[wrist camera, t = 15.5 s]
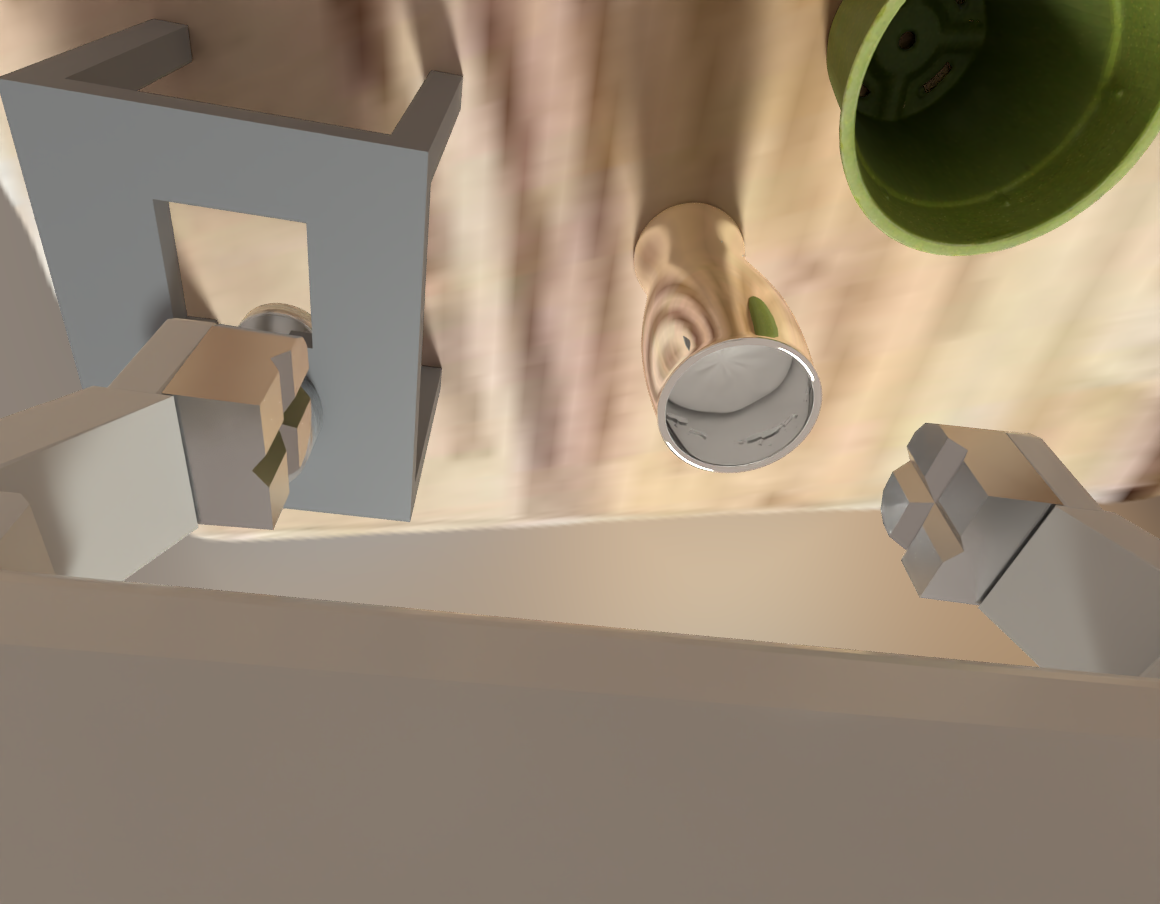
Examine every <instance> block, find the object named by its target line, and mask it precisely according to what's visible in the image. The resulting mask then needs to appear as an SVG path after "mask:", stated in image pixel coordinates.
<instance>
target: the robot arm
mask: <svg viewBox="0 0 1160 904" xmlns="http://www.w3.org/2000/svg"><path fill="white" fill-rule="evenodd" d="M308 369H309V363H308V351H307V344H306V342H305V340H304V338H303V337H301V336H294V335H288V334H281V333H275V332H269V331H262V330H256V329H249V328H243V327H236V326H230V325H223V324H218V325H217V324H216V323H214V322H205V321H197V320H189V319H180V318H173V319H168V320H166V321H165V322H164V323H163V325H162V326H161V327H160V328H159V329H158V330H157V331H156V333H155V334H154V335H153V336H152V337H151V338H150V339H149V340H148V342H147V343H146V344H145V345H144V346H143V347H142V348H141V350H140V351H139V352H138V353H137V354H136V355H135V356H134V358H133V359H132V360H131V361H130V362H129V363H128V364H127V366H126V367H125V368H124V369H123V370H122V371H121V372H120V374H119V375H118V376H117V377H116V378H115V379H114V380H113V382H112V383H111V384H110V385H109V386H108V387H98V386H91V387H88V388H85V389H83V390H80V391H77V392H74V393H72V394H69V395H66V396H63V397H60V398H57V399H55V400H52V401H49V402H46V403H43V404H40V405H37V406H35V407H32V408H29V409H26V410H24V411H21V412H18V413H15V414H12V415H9V416H6V417H3V418H1V419H0V904H1160V539H1158V538H1157V537H1155V536H1153V535H1151V534H1150V533H1148V532H1146V531H1145V530H1143V529H1141V528H1140V527H1138V526H1136V525H1135V524H1133V523H1131V522H1130V521H1128V520H1126V519H1125V518H1123V517H1121V516H1120V515H1118V514H1116V513H1114V512H1107V511H1103V510H1102V508H1101V507H1100V506H1099V505H1098V504H1097V503H1096V501H1095V500H1094V499H1093V498H1092V497H1091V496H1090V494H1089V493H1088V492H1087V491H1086V490H1085V489H1084V487H1083V486H1082V485H1081V484H1080V483H1079V482H1078V480H1077V479H1076V478H1075V477H1074V476H1073V475H1072V474H1071V472H1070V471H1069V470H1068V469H1067V468H1066V467H1065V465H1064V464H1063V463H1062V462H1061V461H1060V460H1059V458H1058V457H1057V456H1056V455H1055V454H1054V453H1053V451H1052V450H1051V449H1050V448H1049V447H1048V446H1047V444H1046V443H1045V442H1044V441H1043V440H1042V439H1041V438H1039V437H1037V436H1035V435H1032V434H1030V433H1019V432H1009V431H998V430H988V429H979V428H969V427H960V426H951V425H942V424H932V423H925V424H924V425H923V426H921V427H920V428H919V429H918V430H917V431H916V432H915V433H914V435H913V437H912V439H911V440H910V442H909V444H908V445H907V450H908V454H909V458H910V461H909V462H907V463H906V464H904V465H902V466H901V467H899V468H898V469H896V470H895V471H893V472H892V474H891V476H890V478H889V480H888V482H887V484H886V486H885V488H884V490H883V497H882V504H881V513H882V519H883V524H884V526H885V528H886V530H887V533H888V535H889V537H891V538H892V539H893V540H894V541H896V542H897V543H898V544H899V545H901V546H902V547H903V548H904V549H905V550H906V551H905V553H904V555H903V558H902V560H901V561H902V563H903V565H904V567H905V569H906V571H907V573H908V575H909V577H910V579H911V581H912V583H913V585H914V587H915V589H916V591H917V593H918V595H919V597H921V598H928V599H936V600H943V601H951V602H959V603H966V604H973V605H980V606H979V609H980V610H981V611H982V612H983V613H984V614H985V615H986V616H987V617H988V618H989V619H990V620H991V621H993V622H994V623H995V624H996V625H997V626H998V627H999V628H1000V629H1001V630H1002V631H1003V632H1004V633H1005V634H1006V635H1007V636H1008V637H1009V638H1010V639H1011V640H1012V641H1013V642H1014V643H1016V644H1017V645H1018V646H1019V647H1020V648H1021V649H1022V650H1023V651H1024V652H1025V653H1026V654H1027V655H1028V656H1029V657H1030V658H1031V659H1032V660H1033V661H1034V662H1035V663H1036V664H1038V665H1039V666H1040V667H1031V666H1020V665H1009V664H999V663H989V662H978V661H967V660H957V659H945V658H936V657H925V656H914V655H904V654H893V653H883V652H872V651H860V650H851V649H840V648H829V647H819V646H807V645H797V644H786V643H774V642H765V641H754V640H743V639H732V638H721V637H710V636H699V635H689V634H679V633H668V632H657V631H647V630H636V629H626V628H615V627H604V626H594V625H583V624H572V623H562V622H551V621H541V620H530V619H519V618H509V617H498V616H487V615H477V614H466V613H455V612H445V611H434V610H424V609H413V608H402V607H392V606H381V605H370V604H360V603H349V602H339V601H328V600H318V599H317V600H316V599H307V598H296V597H286V596H275V595H265V594H254V593H243V592H232V591H222V590H221V591H220V590H212V589H201V588H190V587H180V586H169V585H158V584H147V583H137V582H127V581H124V580H125V579H126V578H128V577H129V576H131V575H132V574H134V573H135V572H136V571H138V570H139V569H141V568H142V567H143V566H145V565H146V564H147V563H149V562H150V561H152V560H153V559H154V558H156V557H157V556H159V555H160V554H162V553H163V552H165V551H166V550H167V549H168V548H170V547H172V546H173V545H174V544H176V543H177V542H178V541H180V540H181V539H183V538H184V537H186V536H187V535H189V534H190V533H191V532H193V531H194V530H196V529H197V528H198V524H205V525H218V526H231V527H243V528H256V529H269V530H273V529H274V527H275V525H276V522H277V520H278V518H279V516H280V513H281V511H282V509H283V506H284V504H285V502H286V500H287V497H288V495H289V479H288V475H290V474H292V473H294V472H295V471H297V470H299V469H300V467H301V465H302V462H303V460H304V457H305V455H306V451H307V446H308V441H309V436H310V430H311V398H310V397H309V396H308V394H307V393H306V392H305V391H304V390H303V388H302V387H301V384H302V382H303V380H304V378H305V376H306V374H307V371H308Z"/></svg>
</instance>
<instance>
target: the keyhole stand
mask: <svg viewBox="0 0 1160 904" xmlns="http://www.w3.org/2000/svg"><path fill="white" fill-rule="evenodd" d="M190 62H192V55H191V47H190V40H189V32H188V25H183V24H178V23H172V22H167V21H161V20H156V19H151V20H149V21H146V22H144V23H141V24H138V25H136V26H133V27H130V28H128V29H125V30H122V31H120V32H117V33H114V34H112V35H109V36H106V37H104V38H101V39H98V40H96V41H93V42H91V43H88V44H85V45H83V46H80V47H77V48H75V49H72V50H69V51H67V52H64V53H61V54H59V55H56V56H53V57H51V58H48V59H45V60H43V61H40V62H38V63H35V64H32V65H30V66H27V67H24V68H22V69H19V70H16V71H14V72H11V73H8V74H6V75H3V76H0V94H1V98H2V102H3V105H4V109H5V112H6V116H7V120H8V123H9V127H10V130H11V134H12V138H13V141H14V145H15V148H16V152H17V156H18V159H19V163H20V166H21V170H22V173H23V177H24V181H25V184H26V188H27V191H28V195H29V199H30V202H31V206H32V209H33V213H34V217H35V220H36V224H37V227H38V231H39V235H40V238H41V242H42V245H43V249H44V252H45V256H46V260H47V263H48V267H49V270H50V274H51V278H52V281H53V285H54V288H55V292H56V296H57V299H58V303H59V306H60V310H61V314H62V317H63V321H64V324H65V328H66V331H67V335H68V339H69V342H70V346H71V349H72V353H73V356H74V360H75V364H76V367H77V371H78V375H79V378H80V381H81V385H82V389H85V388H88V387H91V386H98V387H108V386H109V385H110V384H111V383H112V382H113V380H114V379H115V378H116V377H117V376H118V375H119V374H120V372H121V371H122V370H123V369H124V368H125V367H126V366H127V364H128V363H129V362H130V361H131V360H132V359H133V358H134V356H135V355H136V354H137V353H138V352H139V351H140V350H141V348H142V347H143V346H144V345H145V344H146V343H147V342H148V340H149V339H150V338H151V337H152V336H153V335H154V334H155V333H156V331H157V330H158V329H159V328H160V327H161V326H162V325H163V323H164V322H165V321H166V320H168V319H173V318H180V319H189V320H197V321H205V322H214V323H216V324H217V325H218V322H217V320H213V319H206V318H199V317H191V316H187V312H186V306H185V300H184V294H183V288H182V281H181V275H180V269H179V263H178V257H177V251H176V245H175V239H174V233H173V227H172V221H171V214H170V208H169V202H175V203H181V204H188V205H194V206H201V207H207V208H213V209H220V210H226V211H233V212H239V213H246V214H252V215H258V216H265V217H271V218H278V219H284V220H290V221H297V222H303V223H306V224H307V244H308V263H309V283H310V303H311V322H312V333H307V332H300V331H293V330H291V331H290V333H289V335H294V336H301V337H303V338H304V340H305V342H306V344H307V351H308V363H309V369H308V371H307V374H306V376H307V377H308V379H309V380H310V381H311V383H312V384H313V386H314V387H315V389H316V390H317V393H318V395H319V397H320V400H321V403H322V408H323V421H322V426H321V429H320V431H319V434H318V436H317V438H316V441H315V443H314V445H313V448H312V450H311V452H310V455H309V457H308V460H307V462H306V464H305V467H304V468H303V470H302V471H301V473H300V474H299V475H298V476H297V477H296V478H295V479H294V480H292V481H291V482H290V483H289V495H288V497H287V500H286V502H285V504H284V506H283V508H287V509H296V510H305V511H314V512H323V513H333V514H342V515H351V516H360V517H369V518H378V519H387V520H396V521H406V522H410V520H411V516H412V512H413V507H414V503H415V498H416V494H417V490H418V485H419V481H420V476H421V472H422V468H423V463H424V459H425V454H426V450H427V445H428V441H429V437H430V432H431V428H432V423H433V419H434V415H435V410H436V406H437V401H438V397H439V393H440V387H441V373H442V368H435V367H427V366H421V359H422V340H423V321H424V302H425V283H426V264H427V245H428V225H429V206H430V187H431V181H432V179H433V176H434V174H435V171H436V169H437V166H438V164H439V161H440V159H441V156H442V154H443V152H444V149H445V147H446V144H447V142H448V139H449V137H450V134H451V132H452V129H453V127H454V124H455V122H456V119H457V117H458V114H459V112H460V109H461V96H462V82H463V76H459V75H454V74H449V73H443V72H438V71H432V70H431V71H430V73H429V75H428V76H427V78H426V79H425V81H424V83H423V84H422V86H421V87H420V89H419V91H418V92H417V94H416V95H415V97H414V99H413V100H412V102H411V103H410V105H409V107H408V108H407V110H406V111H405V113H404V115H403V116H402V118H401V119H400V121H399V123H398V124H397V126H396V127H395V129H394V131H393V132H392V134H391V135H389V134H383V133H377V132H372V131H366V130H360V129H354V128H348V127H343V126H337V125H331V124H325V123H319V122H314V121H308V120H302V119H296V118H290V117H285V116H279V115H273V114H267V113H261V112H256V111H250V110H244V109H238V108H233V107H227V106H221V105H215V104H209V103H204V102H198V101H192V100H186V99H180V98H175V97H169V96H163V95H157V94H151V93H146V92H140V91H138V90H140V89H141V88H143V87H145V86H147V85H149V84H151V83H153V82H155V81H156V80H158V79H160V78H162V77H164V76H166V75H168V74H170V73H171V72H173V71H175V70H177V69H179V68H181V67H183V66H185V65H186V64H188V63H190ZM168 201H169V202H168Z"/></svg>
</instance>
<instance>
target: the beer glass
mask: <svg viewBox="0 0 1160 904" xmlns="http://www.w3.org/2000/svg"><path fill="white" fill-rule="evenodd" d="M634 269H635V273H636V276H637V279H638V281H639V283H640V285H641V287H642V289H643V290H644V292H645V293H646V294H647V300H646V305H645V311H644V317H643V324H642V338H641V353H642V362H643V371H644V376H645V380H646V384H647V389H648V393H649V396H650V399H651V403H652V406H653V409H654V412H655V415H656V418H657V422H658V427H659V431H660V434H661V436H662V438H663V440H664V442H665V443H666V445H667V446H668V447H669V449H670V450H671V451H672V452H673V453H674V454H675V455H676V456H677V457H679V458H680V459H681V460H683V461H684V462H686V463H688V464H690V465H692V466H694V467H697V468H700V469H703V470H707V471H711V472H719V473H737V472H745V471H750V470H754V469H758V468H761V467H764V466H766V465H769V464H771V463H773V462H775V461H777V460H779V459H781V458H782V457H784V456H786V455H787V454H788V453H790V452H791V451H792V450H794V449H795V448H796V447H797V446H798V445H799V444H800V443H801V442H802V441H803V440H804V439H805V438H806V437H807V435H808V434H809V433H810V431H811V430H812V428H813V426H814V425H815V423H816V421H817V418H818V416H819V413H820V409H821V404H822V386H821V382H820V378H819V375H818V373H817V371H816V369H815V368H814V365H813V362H812V358H811V355H810V352H809V349H808V347H807V344H806V341H805V338H804V336H803V334H802V331H801V329H800V327H799V325H798V323H797V320H796V318H795V316H794V315H793V313H792V311H791V310H790V308H789V306H788V305H787V303H786V301H785V300H784V298H783V297H782V296H781V294H780V293H779V292H778V291H777V290H776V289H775V287H774V286H773V285H772V284H771V283H770V282H769V281H768V280H767V279H766V278H765V277H764V276H763V275H762V274H761V273H760V272H759V271H758V270H757V269H755V268H754V267H753V266H752V265H751V264H750V263H749V262H747V261H746V260H745V248H744V242H743V238H742V235H741V232H740V230H739V228H738V226H737V225H736V223H735V222H734V221H733V219H732V218H731V217H730V216H729V215H727V214H726V213H725V212H723V211H722V210H720V209H719V208H717V207H714V206H712V205H709V204H704V203H684V204H679V205H675V206H673V207H670V208H668V209H666V210H664V211H662V212H661V213H659V214H658V215H657V216H655V217H654V218H653V219H652V220H651V221H650V222H649V223H648V224H647V225H646V227H645V228H644V229H643V231H642V233H641V234H640V236H639V239H638V241H637V244H636V247H635V252H634Z"/></svg>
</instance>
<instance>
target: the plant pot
mask: <svg viewBox="0 0 1160 904" xmlns="http://www.w3.org/2000/svg"><path fill="white" fill-rule="evenodd" d="M969 20H973V22H972V21H969ZM978 21H979V22H978ZM905 32H913V33H914V35H915V42H914V44H913V45H912V46H911V47H910V48H909V49H902V48H901V47H900V46H899V40H900V37H901V36H902V35H903V34H904V33H905ZM946 62H948V63H949V64H950V66H951V67H952V69H951V70H950V72H949V73H948V74H947V75H946V77H945V78H944V79H943V80H942V81H941V82H939V83H938V85H937V86H936V87H935V88H933V89H932V90H931V91H930V92H928V93H926V92H925V89H924V87H922V86H923V85H924V84H925V83H927V82H928V81H929V80H931V79H932V78H933V77H934V76H935V75H936V74H937V73H938V72H939V71H940V70H941V69H942V68H943V67H944V65H945V63H946ZM827 70H828V75H829V79H830V82H831V85H832V88H833V91H834V94H835V96H836V99H837V102H838V104H839V107H840V109H841V114H840V126H839V139H840V154H841V160H842V164H843V169H844V173H845V176H846V179H847V182H848V185H849V187H850V190H851V192H852V194H853V196H854V198H855V200H856V202H857V203H858V205H859V207H860V208H861V209H862V211H863V212H864V214H865V215H866V216H867V217H868V219H869V220H870V221H871V222H872V223H873V224H874V225H875V226H876V227H878V228H879V229H880V230H881V231H882V232H883V233H885V234H886V235H887V236H889V237H890V238H892V239H894V240H896V241H897V242H899V243H901V244H904V245H906V246H908V247H910V248H913V249H916V250H919V251H923V252H927V253H932V254H937V255H946V256H967V255H977V254H984V253H990V252H996V251H1000V250H1005V249H1008V248H1011V247H1014V246H1017V245H1020V244H1022V243H1025V242H1028V241H1030V240H1032V239H1034V238H1037V237H1039V236H1042V235H1044V234H1046V233H1048V232H1050V231H1052V230H1054V229H1056V228H1057V227H1059V226H1061V225H1062V224H1064V223H1066V222H1068V221H1069V220H1071V219H1072V218H1074V217H1075V216H1077V215H1078V214H1079V213H1081V212H1082V211H1084V210H1085V209H1087V208H1088V207H1089V206H1091V205H1092V204H1093V203H1095V202H1096V201H1097V200H1099V199H1100V198H1101V197H1102V196H1103V195H1104V194H1105V193H1106V192H1108V191H1109V190H1110V189H1111V188H1112V187H1113V186H1114V185H1115V184H1117V183H1118V182H1119V181H1120V180H1121V179H1122V178H1123V177H1124V176H1125V175H1126V173H1127V172H1128V171H1129V170H1130V169H1131V168H1132V167H1133V166H1134V165H1135V164H1136V162H1137V161H1138V160H1139V159H1140V157H1141V156H1142V155H1143V154H1144V152H1145V151H1146V150H1147V148H1148V147H1149V146H1150V144H1151V143H1152V141H1153V140H1154V139H1155V137H1156V136H1157V134H1158V133H1159V131H1160V0H965V2H963V3H962V4H958V3H957V2H956V0H843V1H842V3H841V5H840V6H839V8H838V10H837V12H836V14H835V17H834V19H833V22H832V25H831V29H830V33H829V39H828V45H827ZM862 83H863V85H864V86H865V87H866V88H867V89H868V90H869V91H870V93H869V94H868V95H867V96H864V97H860V96H859V94H860V90H861V86H862ZM904 104H905V106H904ZM903 107H904V108H903Z"/></svg>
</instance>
